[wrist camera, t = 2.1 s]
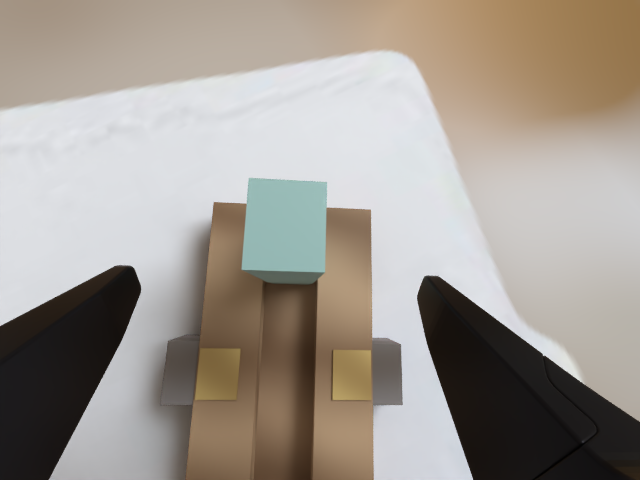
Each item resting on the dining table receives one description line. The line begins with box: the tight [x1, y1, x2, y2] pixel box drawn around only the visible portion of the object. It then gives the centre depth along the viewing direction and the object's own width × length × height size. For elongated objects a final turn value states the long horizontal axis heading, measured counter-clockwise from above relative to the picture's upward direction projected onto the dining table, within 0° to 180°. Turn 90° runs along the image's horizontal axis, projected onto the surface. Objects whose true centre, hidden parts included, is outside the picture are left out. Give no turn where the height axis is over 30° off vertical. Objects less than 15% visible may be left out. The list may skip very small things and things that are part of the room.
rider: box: [241, 178, 327, 285], centre depth 13 cm, size 3×2×9 cm
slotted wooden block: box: [160, 202, 403, 480], centre depth 16 cm, size 18×12×3 cm
